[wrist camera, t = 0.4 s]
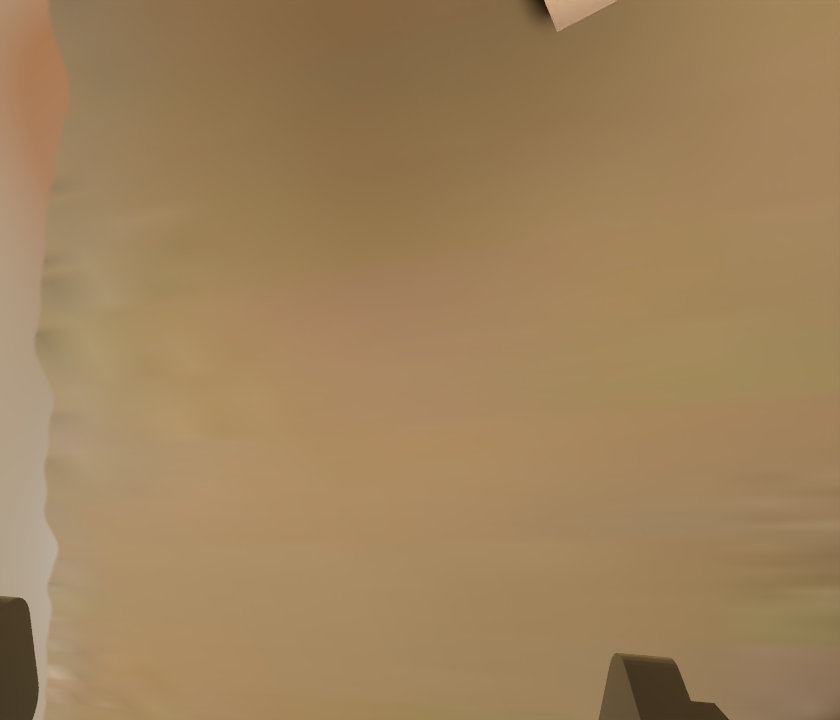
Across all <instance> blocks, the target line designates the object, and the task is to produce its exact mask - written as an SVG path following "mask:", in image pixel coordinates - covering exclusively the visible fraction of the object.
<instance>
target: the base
mask: <svg viewBox="0 0 840 720" xmlns="http://www.w3.org/2000/svg"><path fill="white" fill-rule="evenodd" d="M544 1H545V4H546V6H547V8H548V11H549V13H550V15H551V18H552V20H553V23H554V25H555V27H556V30H557V32H559V31H560V30H562V29H564V28H566V27H568V26H570V25H572V24H574V23H576V22H578V21H579V20H581V19H583V18H585V17H587V16H589V15H591V14H593V13H595V12H597V11H598V10H600V9H602V8H604V7H606V6H608V5H610V4H612V3H614V2H616V1H618V0H544Z"/></svg>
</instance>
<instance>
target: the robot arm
mask: <svg viewBox="0 0 840 720" xmlns="http://www.w3.org/2000/svg"><path fill="white" fill-rule="evenodd" d="M38 688H39V687H38V676H37V668H36V660H35V653H34V644H33V636H32V629H31V620H30V612H29V607H28V605H27V603H26V601H25V600H24V599H22V598H17V597H6V596H0V720H32V719H33V716H34V713H35V709H36V705H37V700H38ZM599 720H729V719H728V718H727V717H726V716H725V715H724V714H723V713H722V711H721V710H720V709H719V708H718V707H717V706H716V705H715V704H714V703H705V702H694V701H691V700H690V698H689V695H688V692H687V690H686V687H685V685H684V682H683V680H682V677H681V674H680V672H679V669H678V667H677V665H676V663H675V662H674V660H673V659H671V658H666V657H655V656H644V655H633V654H622V653H616V654H614V656H613V657H612V660H611V663H610V667H609V672H608V677H607V682H606V687H605V692H604V696H603V701H602V706H601V711H600V716H599Z"/></svg>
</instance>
